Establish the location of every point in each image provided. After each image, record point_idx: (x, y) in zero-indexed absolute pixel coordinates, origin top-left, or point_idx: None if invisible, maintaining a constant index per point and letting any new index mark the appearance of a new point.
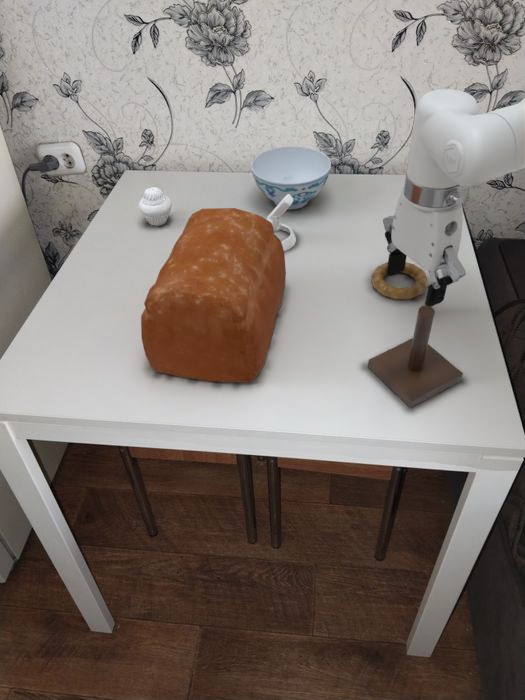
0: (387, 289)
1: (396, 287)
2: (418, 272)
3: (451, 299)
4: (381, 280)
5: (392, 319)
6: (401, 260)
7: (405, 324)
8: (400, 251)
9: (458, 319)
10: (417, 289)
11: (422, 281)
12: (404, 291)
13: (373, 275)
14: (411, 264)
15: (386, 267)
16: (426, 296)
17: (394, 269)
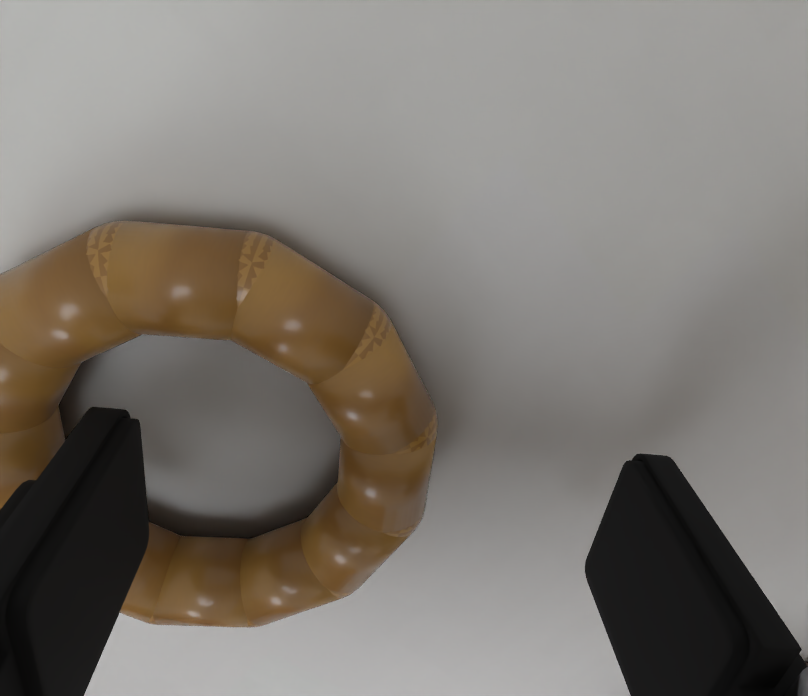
0: (276, 620)
1: (303, 585)
2: (243, 338)
3: (626, 254)
4: (168, 607)
5: (461, 637)
6: (88, 563)
7: (540, 617)
8: (9, 693)
9: (782, 385)
10: (418, 489)
11: (376, 409)
12: (372, 566)
13: None
14: (90, 302)
15: (20, 484)
16: (611, 643)
17: (129, 553)
